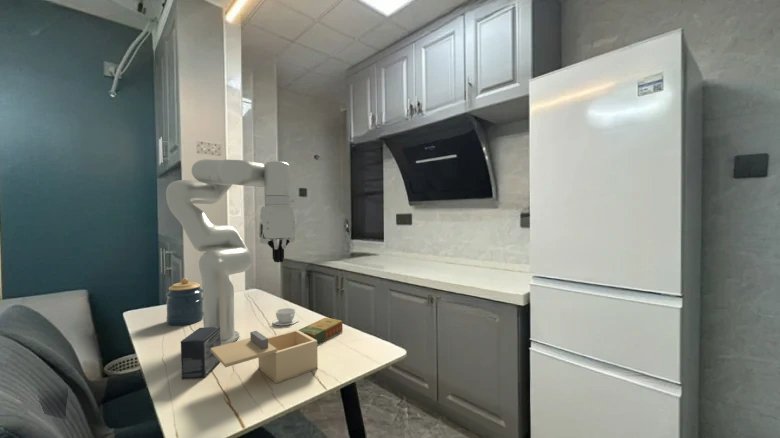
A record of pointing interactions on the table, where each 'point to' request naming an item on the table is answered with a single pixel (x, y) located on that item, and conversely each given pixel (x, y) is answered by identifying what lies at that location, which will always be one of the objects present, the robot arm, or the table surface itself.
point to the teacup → (285, 317)
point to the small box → (199, 352)
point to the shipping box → (290, 356)
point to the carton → (323, 329)
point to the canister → (184, 303)
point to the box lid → (243, 350)
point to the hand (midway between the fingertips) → (278, 261)
